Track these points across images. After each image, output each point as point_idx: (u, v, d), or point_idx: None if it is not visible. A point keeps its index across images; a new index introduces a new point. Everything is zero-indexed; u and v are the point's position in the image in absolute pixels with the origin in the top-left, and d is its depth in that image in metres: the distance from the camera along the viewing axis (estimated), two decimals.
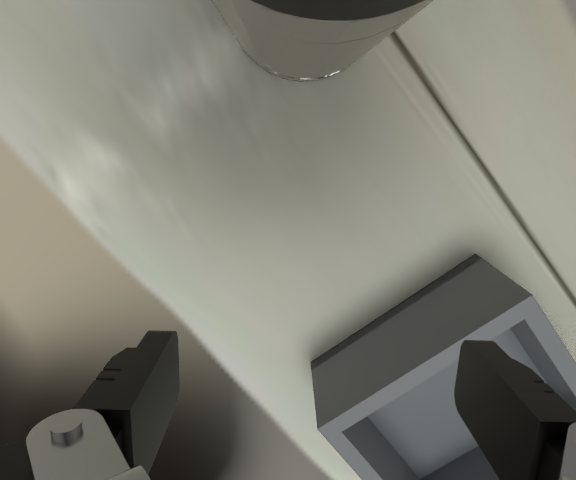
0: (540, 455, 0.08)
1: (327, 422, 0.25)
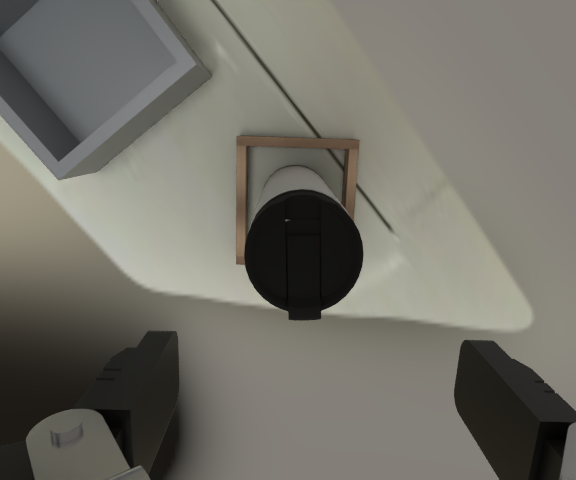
0: (540, 455, 0.08)
1: None
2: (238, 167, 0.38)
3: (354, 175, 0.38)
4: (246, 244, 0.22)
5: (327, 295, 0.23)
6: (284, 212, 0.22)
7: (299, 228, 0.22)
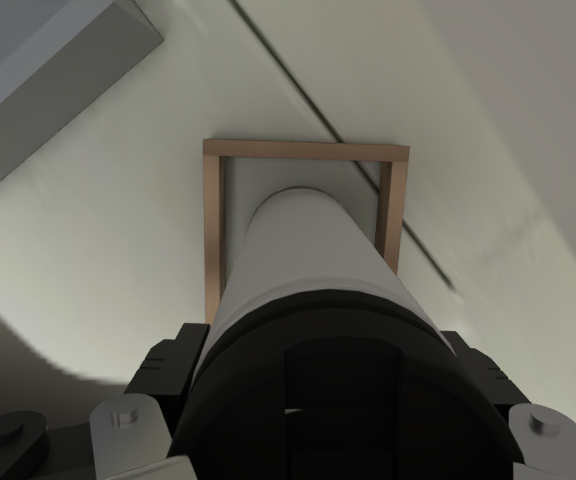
0: None
1: None
2: (206, 191, 0.22)
3: (400, 205, 0.23)
4: None
5: None
6: (282, 391, 0.07)
7: (331, 433, 0.07)
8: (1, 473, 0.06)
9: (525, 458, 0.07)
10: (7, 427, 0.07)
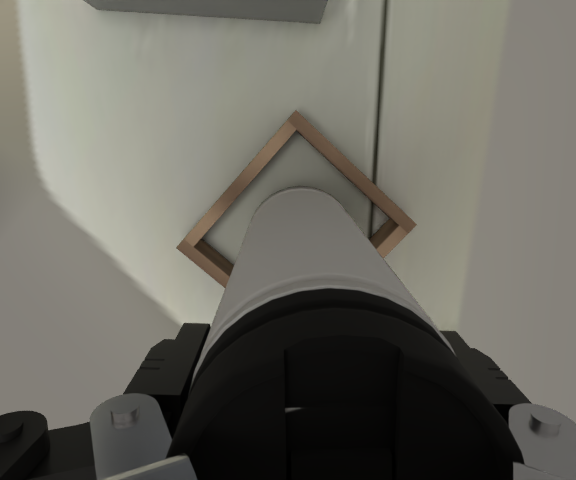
0: None
1: None
2: (268, 145, 0.26)
3: None
4: None
5: None
6: (282, 390, 0.07)
7: (330, 432, 0.07)
8: (1, 473, 0.06)
9: (525, 458, 0.07)
10: (7, 426, 0.07)
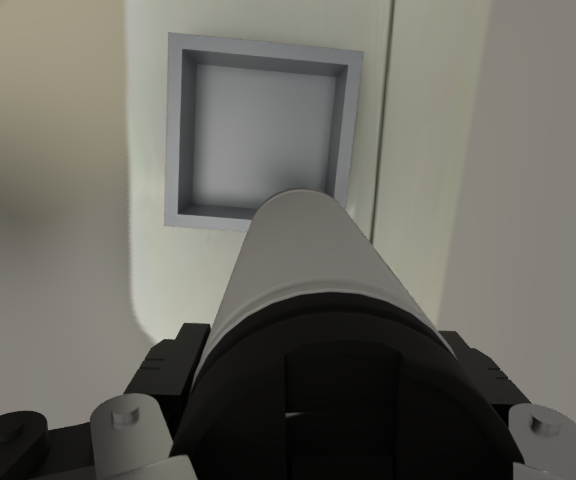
0: None
1: (178, 33, 0.30)
2: None
3: None
4: None
5: None
6: (283, 395, 0.07)
7: (331, 437, 0.07)
8: (1, 473, 0.06)
9: (525, 458, 0.07)
10: (7, 427, 0.07)
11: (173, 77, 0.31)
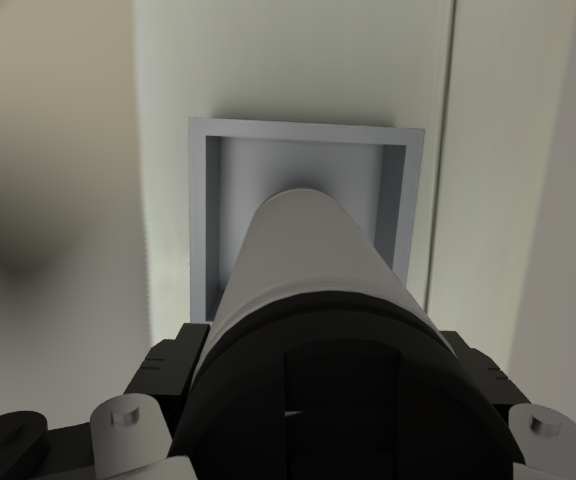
0: None
1: None
2: None
3: None
4: None
5: None
6: (282, 394, 0.07)
7: (331, 436, 0.07)
8: (1, 473, 0.06)
9: (525, 458, 0.07)
10: (7, 427, 0.07)
11: (196, 168, 0.26)
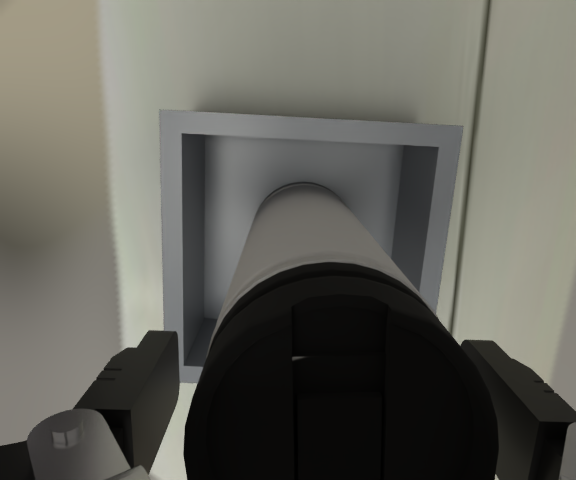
0: (540, 455, 0.08)
1: (175, 110, 0.20)
2: None
3: None
4: (189, 425, 0.08)
5: None
6: (290, 340, 0.08)
7: (330, 377, 0.09)
8: None
9: None
10: None
11: (169, 176, 0.20)
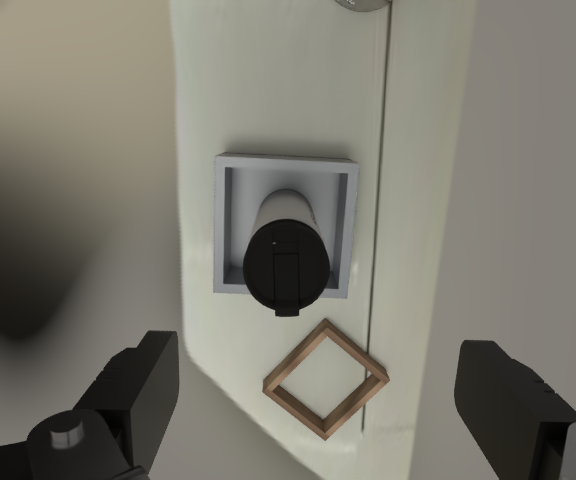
0: (540, 455, 0.08)
1: (222, 156, 0.41)
2: (312, 343, 0.51)
3: (371, 395, 0.53)
4: (244, 261, 0.30)
5: (304, 298, 0.31)
6: (272, 237, 0.30)
7: (283, 249, 0.30)
8: None
9: None
10: None
11: (218, 187, 0.42)
